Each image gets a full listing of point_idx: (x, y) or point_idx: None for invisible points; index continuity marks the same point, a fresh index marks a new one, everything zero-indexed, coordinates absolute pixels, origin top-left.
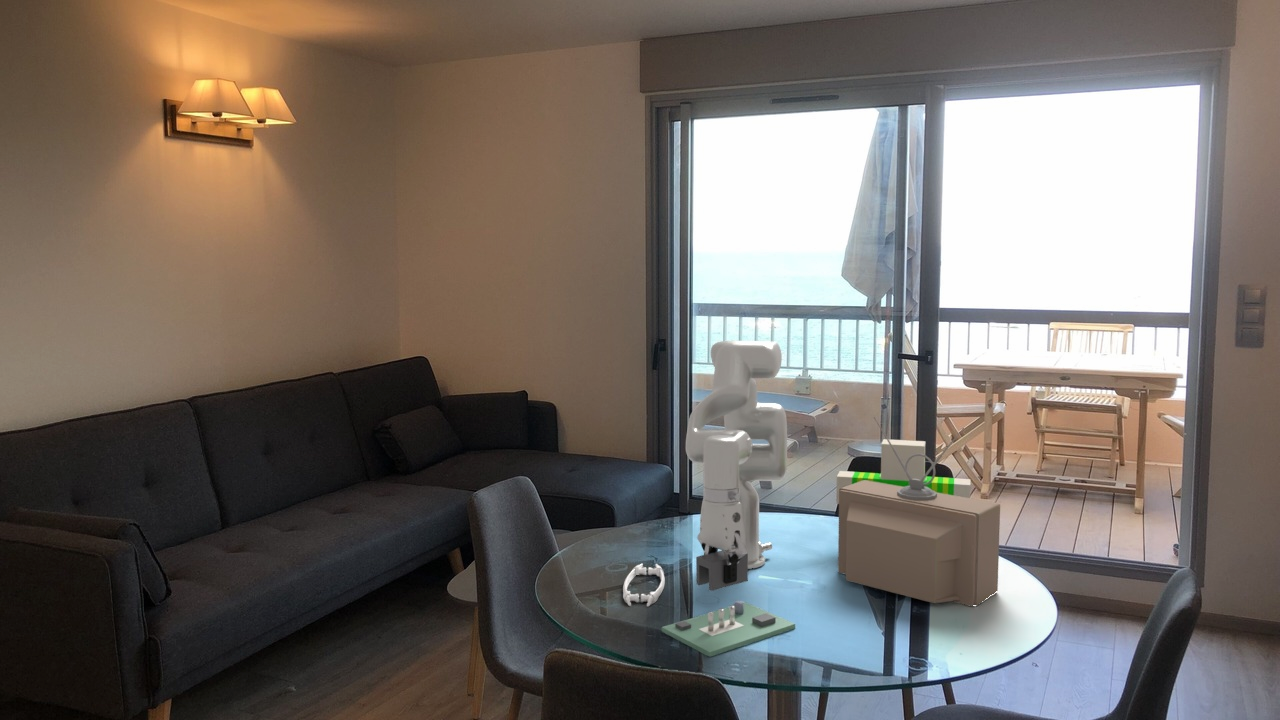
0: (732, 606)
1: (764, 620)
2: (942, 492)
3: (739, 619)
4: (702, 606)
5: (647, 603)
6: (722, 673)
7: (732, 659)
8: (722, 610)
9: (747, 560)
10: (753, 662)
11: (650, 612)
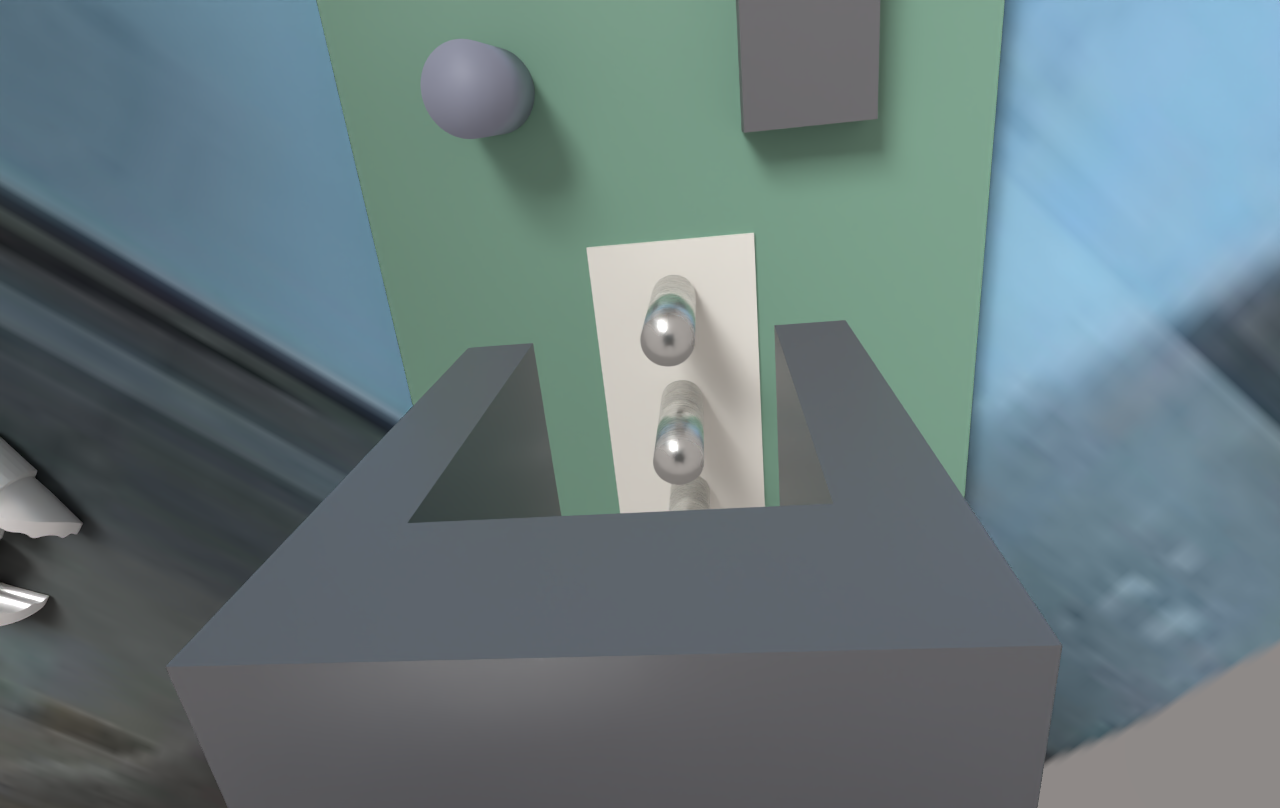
0: (668, 338)
1: (868, 73)
2: None
3: (620, 181)
4: (183, 216)
5: (62, 535)
6: (1153, 702)
7: (1063, 567)
8: (698, 466)
9: (969, 511)
10: (1197, 497)
11: (183, 560)
